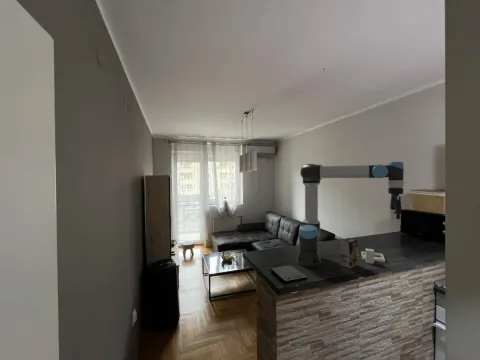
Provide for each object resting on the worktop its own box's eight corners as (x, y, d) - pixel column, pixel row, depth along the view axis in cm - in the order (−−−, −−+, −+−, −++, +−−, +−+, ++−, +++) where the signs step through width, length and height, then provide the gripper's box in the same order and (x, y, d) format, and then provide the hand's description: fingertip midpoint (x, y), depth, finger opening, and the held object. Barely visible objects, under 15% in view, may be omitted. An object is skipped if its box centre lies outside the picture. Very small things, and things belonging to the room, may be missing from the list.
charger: (366, 262, 143) (366, 250, 143) (365, 260, 147) (365, 248, 147) (373, 263, 141) (374, 251, 141) (373, 261, 145) (373, 249, 145)
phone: (351, 257, 154) (351, 256, 154) (347, 251, 165) (347, 250, 165) (360, 257, 153) (360, 256, 153) (355, 252, 164) (355, 251, 164)
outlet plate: (362, 259, 149) (362, 256, 149) (361, 253, 160) (361, 251, 160) (385, 262, 143) (385, 259, 143) (382, 256, 154) (382, 253, 154)
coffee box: (350, 268, 134) (350, 242, 134) (340, 265, 140) (340, 240, 139) (358, 265, 140) (358, 239, 139) (348, 261, 145) (348, 237, 144)
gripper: (408, 188, 121) (408, 227, 122) (398, 186, 143) (398, 218, 144) (392, 188, 124) (391, 226, 125) (385, 186, 147) (384, 217, 147)
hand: (395, 222), depth 134 cm, fingers open, 13 cm apart
